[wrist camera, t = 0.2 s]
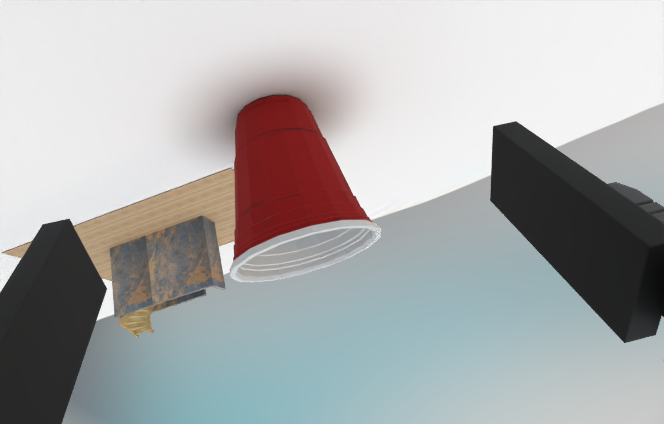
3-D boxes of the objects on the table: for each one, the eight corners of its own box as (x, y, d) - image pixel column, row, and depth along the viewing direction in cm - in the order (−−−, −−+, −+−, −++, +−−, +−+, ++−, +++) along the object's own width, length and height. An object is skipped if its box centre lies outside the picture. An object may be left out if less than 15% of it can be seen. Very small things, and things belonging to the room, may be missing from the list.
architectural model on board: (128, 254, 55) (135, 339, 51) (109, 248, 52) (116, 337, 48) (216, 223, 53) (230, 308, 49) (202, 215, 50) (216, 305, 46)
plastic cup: (275, 166, 44) (303, 290, 40) (174, 133, 36) (195, 285, 31) (367, 104, 39) (412, 240, 34) (273, 48, 30) (316, 219, 26)
